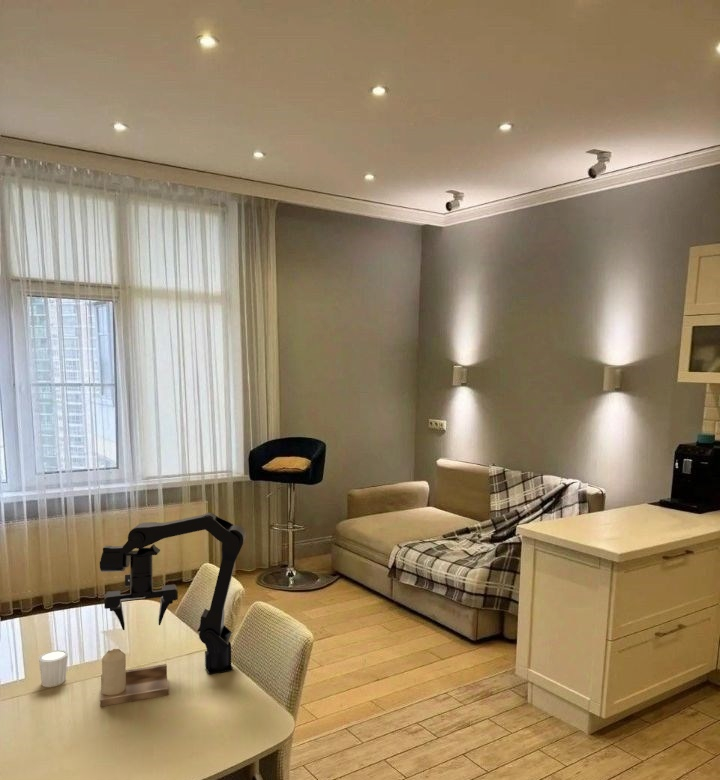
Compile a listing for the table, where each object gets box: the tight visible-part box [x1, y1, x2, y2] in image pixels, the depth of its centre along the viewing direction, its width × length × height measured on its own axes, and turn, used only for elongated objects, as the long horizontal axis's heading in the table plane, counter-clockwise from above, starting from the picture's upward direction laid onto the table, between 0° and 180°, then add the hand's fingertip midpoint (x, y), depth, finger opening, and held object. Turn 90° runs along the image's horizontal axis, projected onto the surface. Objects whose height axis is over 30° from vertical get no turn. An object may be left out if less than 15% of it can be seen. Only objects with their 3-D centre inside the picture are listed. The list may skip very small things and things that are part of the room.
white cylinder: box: [38, 649, 69, 688], centre depth 161 cm, size 7×7×7 cm
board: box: [99, 663, 170, 707], centre depth 155 cm, size 16×9×4 cm, turn 111°
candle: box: [101, 648, 127, 696], centre depth 153 cm, size 6×6×10 cm
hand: (141, 627), depth 167 cm, fingers open, 9 cm apart
